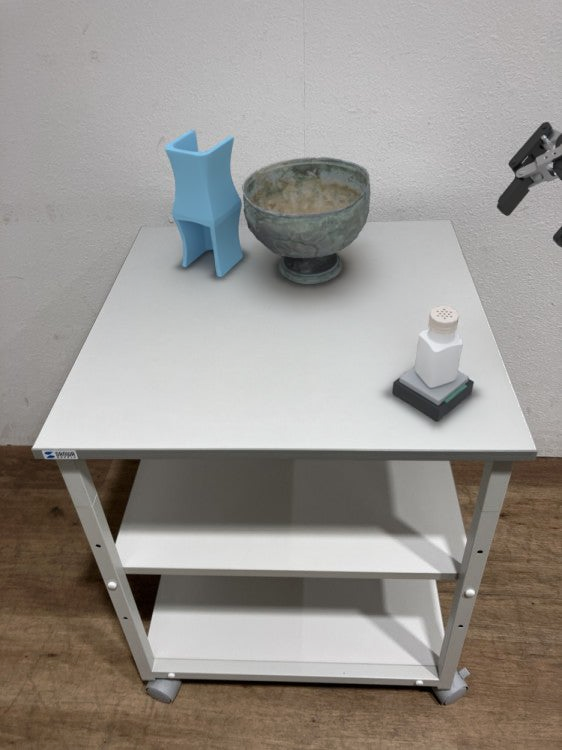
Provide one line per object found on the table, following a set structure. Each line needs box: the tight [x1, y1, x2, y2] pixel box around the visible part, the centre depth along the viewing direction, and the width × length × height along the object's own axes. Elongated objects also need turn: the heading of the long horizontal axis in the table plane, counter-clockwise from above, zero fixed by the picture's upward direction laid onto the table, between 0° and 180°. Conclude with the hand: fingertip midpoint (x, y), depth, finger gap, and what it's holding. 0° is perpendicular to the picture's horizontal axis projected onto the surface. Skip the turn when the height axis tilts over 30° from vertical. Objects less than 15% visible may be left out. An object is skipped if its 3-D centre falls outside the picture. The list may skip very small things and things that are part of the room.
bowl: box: [241, 156, 371, 285], centre depth 96 cm, size 20×19×15 cm
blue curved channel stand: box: [164, 129, 244, 278], centre depth 98 cm, size 8×8×20 cm
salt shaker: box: [414, 305, 464, 388], centre depth 73 cm, size 4×4×10 cm
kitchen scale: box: [391, 365, 475, 422], centre depth 77 cm, size 7×7×3 cm
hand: (528, 227), depth 68 cm, fingers open, 8 cm apart
